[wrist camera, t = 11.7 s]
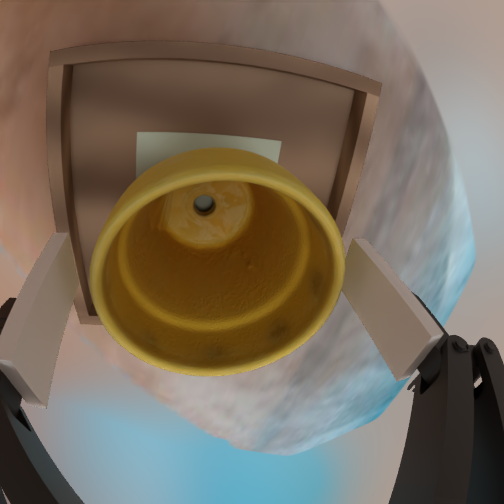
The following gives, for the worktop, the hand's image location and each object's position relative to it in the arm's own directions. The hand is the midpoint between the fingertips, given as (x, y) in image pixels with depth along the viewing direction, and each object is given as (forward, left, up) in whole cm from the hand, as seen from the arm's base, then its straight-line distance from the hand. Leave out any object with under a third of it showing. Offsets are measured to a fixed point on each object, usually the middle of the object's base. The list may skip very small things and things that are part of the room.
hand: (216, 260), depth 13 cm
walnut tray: (0, 0, -8) cm, 8 cm away
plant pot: (0, 0, -8) cm, 8 cm away
